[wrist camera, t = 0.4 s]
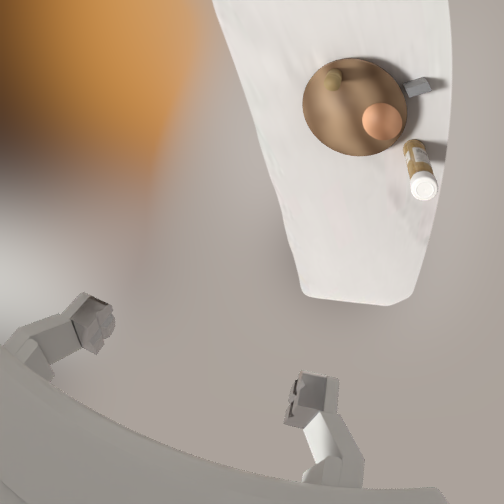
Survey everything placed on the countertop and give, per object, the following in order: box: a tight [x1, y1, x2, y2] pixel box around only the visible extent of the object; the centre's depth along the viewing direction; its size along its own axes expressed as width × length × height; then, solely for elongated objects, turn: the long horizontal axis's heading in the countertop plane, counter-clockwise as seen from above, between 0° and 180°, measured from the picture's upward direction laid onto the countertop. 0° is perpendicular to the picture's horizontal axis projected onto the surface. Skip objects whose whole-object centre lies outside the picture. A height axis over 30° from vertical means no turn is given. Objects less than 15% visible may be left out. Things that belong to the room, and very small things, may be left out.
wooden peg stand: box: [303, 58, 407, 156], centre depth 42 cm, size 18×18×8 cm
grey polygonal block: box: [403, 77, 432, 98], centre depth 37 cm, size 4×2×4 cm, turn 126°
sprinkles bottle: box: [403, 140, 438, 201], centre depth 43 cm, size 5×5×14 cm
